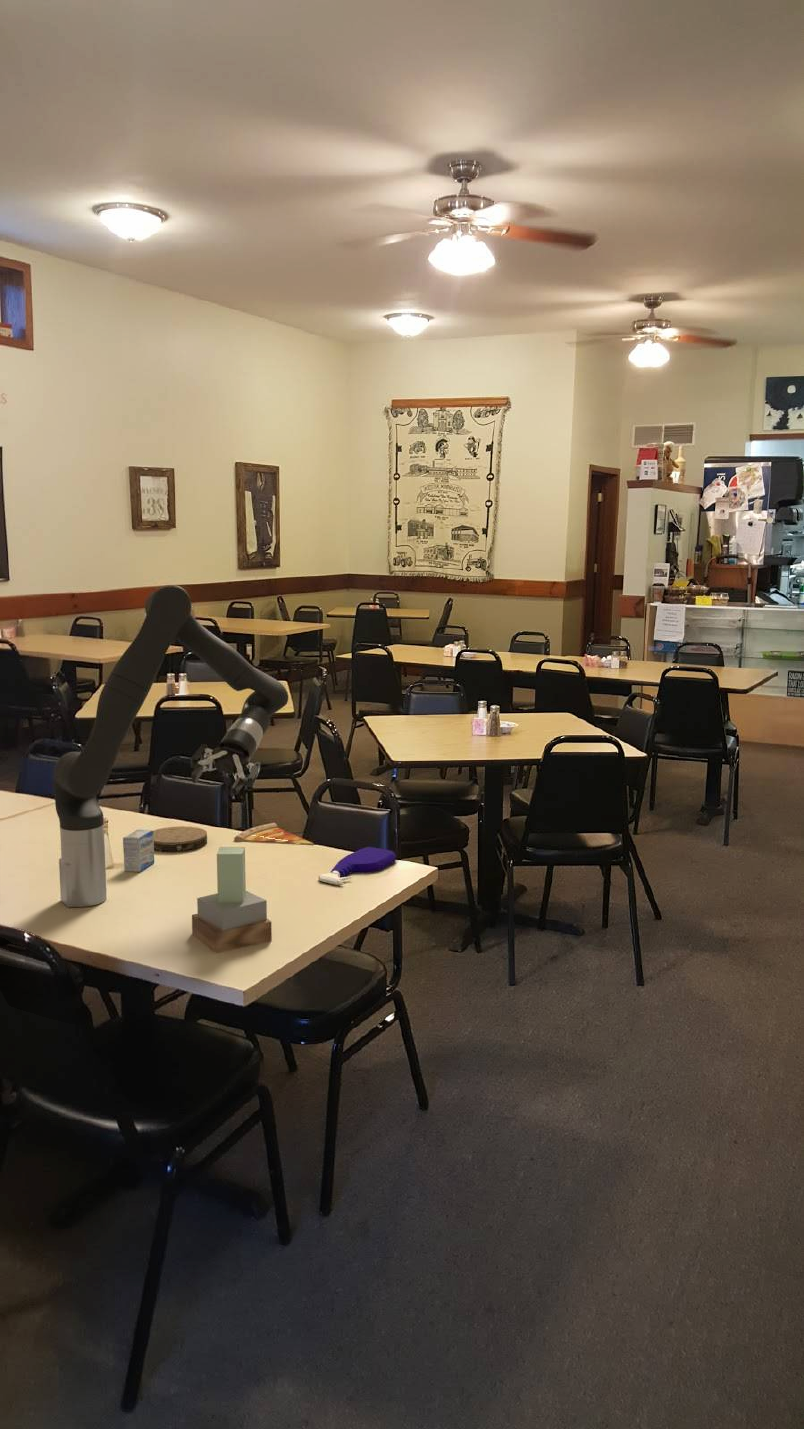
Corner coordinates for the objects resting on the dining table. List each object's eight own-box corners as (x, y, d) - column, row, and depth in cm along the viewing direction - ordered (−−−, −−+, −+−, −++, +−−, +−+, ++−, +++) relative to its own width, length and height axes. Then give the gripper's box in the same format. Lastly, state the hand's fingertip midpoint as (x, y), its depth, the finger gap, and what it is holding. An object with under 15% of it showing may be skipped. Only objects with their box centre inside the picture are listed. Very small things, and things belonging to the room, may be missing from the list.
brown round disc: (142, 840, 274) (142, 829, 273) (201, 834, 280) (200, 824, 279) (151, 856, 259) (150, 845, 259) (212, 850, 265) (212, 839, 265)
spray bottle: (364, 845, 260) (308, 871, 239) (400, 851, 255) (346, 879, 234) (364, 856, 261) (308, 883, 240) (400, 863, 255) (346, 891, 234)
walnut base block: (215, 955, 195) (215, 933, 195) (192, 935, 205) (191, 914, 205) (271, 942, 202) (271, 921, 201) (246, 924, 212) (246, 904, 211)
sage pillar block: (217, 902, 200) (216, 854, 198) (221, 894, 205) (219, 846, 203) (243, 902, 200) (242, 853, 199) (245, 894, 205) (244, 846, 204)
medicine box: (140, 872, 245) (139, 838, 243) (123, 871, 245) (122, 837, 244) (154, 863, 252) (153, 829, 251) (138, 862, 253) (137, 828, 252)
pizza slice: (262, 856, 260) (261, 849, 260) (223, 837, 278) (223, 830, 277) (314, 846, 269) (313, 839, 269) (273, 828, 287) (273, 821, 287)
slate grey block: (223, 930, 196) (222, 911, 195) (197, 917, 203) (197, 898, 203) (266, 919, 202) (266, 900, 201) (240, 906, 210) (240, 887, 209)
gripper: (213, 718, 224) (182, 763, 211) (273, 738, 223) (246, 784, 210) (210, 743, 228) (180, 788, 216) (269, 763, 227) (242, 809, 215)
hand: (212, 786), depth 213 cm, fingers open, 8 cm apart
